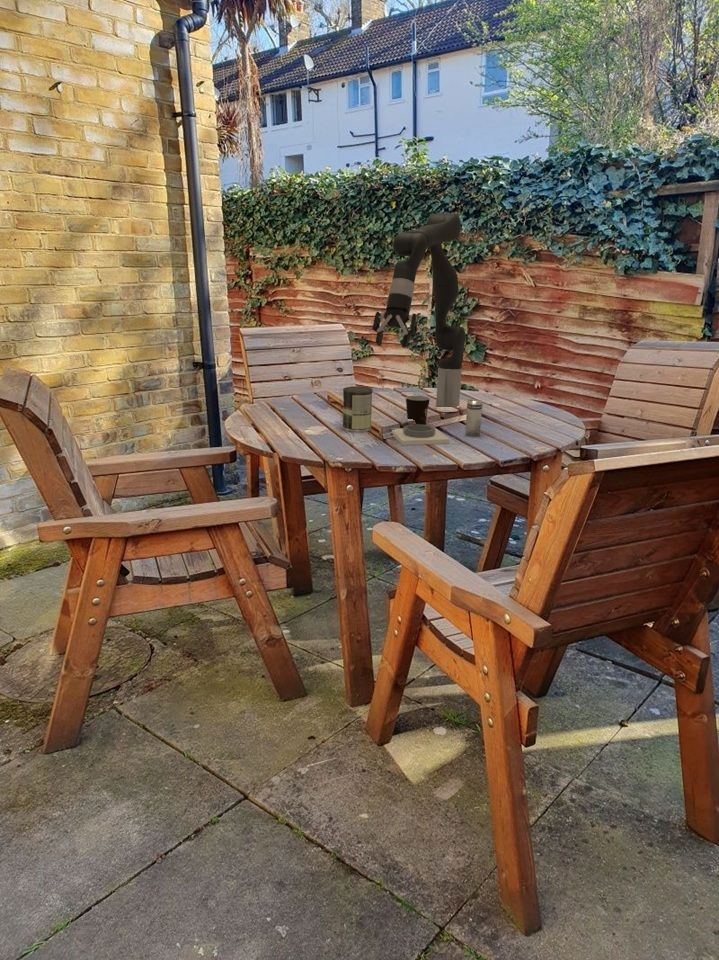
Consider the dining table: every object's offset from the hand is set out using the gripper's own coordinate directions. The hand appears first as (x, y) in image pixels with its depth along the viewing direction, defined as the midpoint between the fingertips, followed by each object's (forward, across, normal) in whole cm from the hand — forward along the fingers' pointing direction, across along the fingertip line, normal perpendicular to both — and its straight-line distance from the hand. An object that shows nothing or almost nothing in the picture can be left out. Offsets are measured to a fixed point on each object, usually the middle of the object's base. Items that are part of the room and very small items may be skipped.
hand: (391, 346), depth 213 cm
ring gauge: (+26, -7, -20) cm, 34 cm away
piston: (+21, -22, -34) cm, 45 cm away
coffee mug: (+19, 0, -38) cm, 43 cm away
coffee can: (+26, +17, -22) cm, 38 cm away
